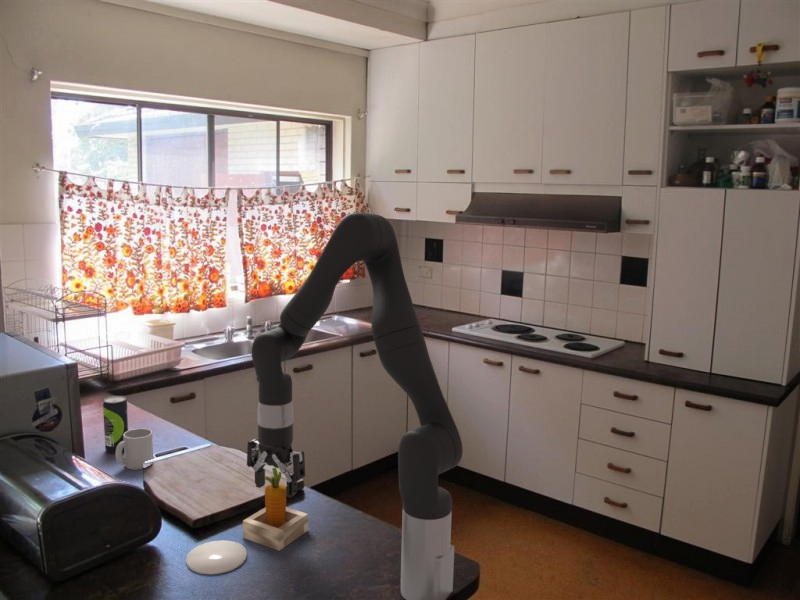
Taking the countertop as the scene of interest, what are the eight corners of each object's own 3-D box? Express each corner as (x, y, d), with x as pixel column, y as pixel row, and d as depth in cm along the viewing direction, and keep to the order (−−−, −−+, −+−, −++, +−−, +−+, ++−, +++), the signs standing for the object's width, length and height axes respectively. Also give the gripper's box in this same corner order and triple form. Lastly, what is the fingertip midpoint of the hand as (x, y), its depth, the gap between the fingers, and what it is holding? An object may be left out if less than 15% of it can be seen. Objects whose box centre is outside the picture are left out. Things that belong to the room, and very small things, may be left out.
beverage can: (129, 452, 197) (127, 401, 194) (105, 455, 194) (102, 403, 192) (128, 444, 202) (126, 394, 200) (105, 447, 200) (102, 396, 197)
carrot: (282, 541, 151) (282, 476, 149) (260, 538, 152) (260, 473, 150) (290, 530, 156) (290, 466, 154) (269, 527, 157) (268, 464, 155)
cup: (158, 464, 189) (157, 433, 188) (123, 475, 182) (121, 443, 180) (144, 457, 194) (143, 426, 192) (109, 467, 186) (108, 436, 185)
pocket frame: (307, 530, 156) (307, 513, 155) (279, 550, 148) (279, 533, 147) (272, 519, 161) (272, 502, 160) (243, 537, 152) (242, 520, 152)
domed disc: (258, 553, 146) (258, 550, 146) (217, 581, 136) (217, 578, 136) (216, 537, 152) (216, 535, 152) (173, 563, 142) (173, 560, 142)
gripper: (313, 422, 150) (312, 492, 153) (261, 409, 156) (261, 477, 159) (290, 433, 143) (290, 506, 146) (238, 418, 150) (238, 489, 153)
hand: (275, 491), depth 153 cm, fingers open, 8 cm apart
